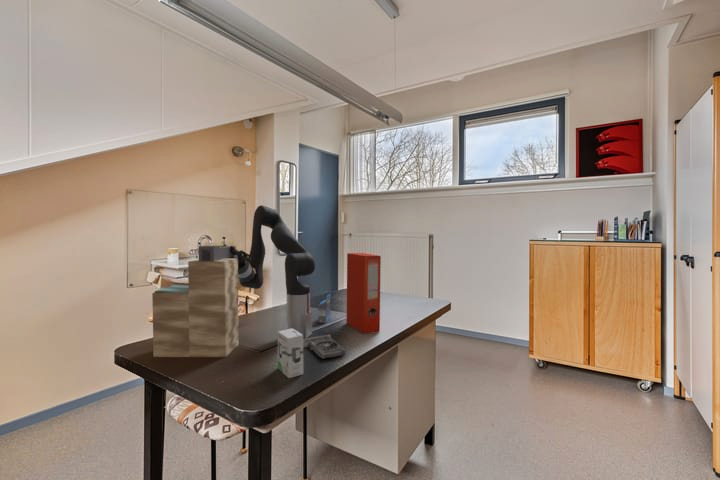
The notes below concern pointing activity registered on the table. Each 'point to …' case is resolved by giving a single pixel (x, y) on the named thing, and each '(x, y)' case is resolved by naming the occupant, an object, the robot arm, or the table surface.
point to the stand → (198, 312)
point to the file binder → (363, 292)
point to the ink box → (290, 352)
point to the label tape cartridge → (324, 310)
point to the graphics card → (324, 346)
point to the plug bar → (214, 253)
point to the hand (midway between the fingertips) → (226, 248)
